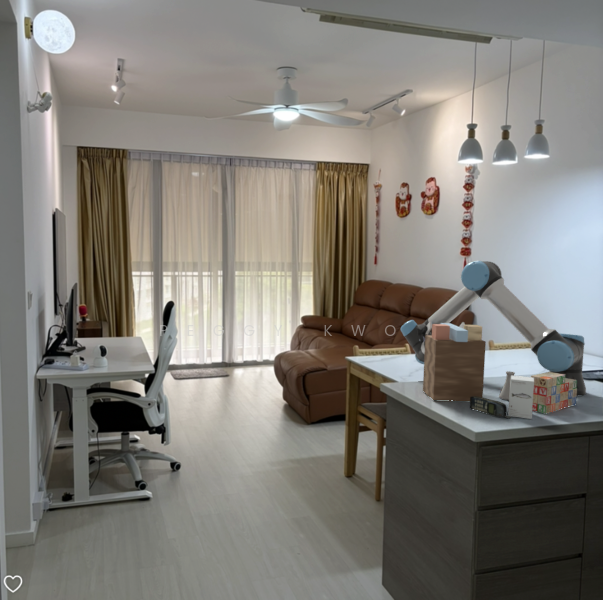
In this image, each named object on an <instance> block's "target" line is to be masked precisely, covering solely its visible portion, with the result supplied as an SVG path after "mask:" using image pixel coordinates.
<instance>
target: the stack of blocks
mask: <svg viewBox="0 0 603 600" xmlns="http://www.w3.org/2000/svg"><path fill="white" fill-rule="evenodd" d="M530 377H532V378H534V391H533V405H532V412H535V411H537V412H536V413H539V412H541V413H540V414H543V413H545V414H544V415H547V414H546V413H548V414H550V413H549V412H552V413H554V412H553V411H555V412H557V411H556V410H558V411H560V410H559V409H561V408H564V407H567V408H569V407H568V406H571V405H574V406H576V405H577V396H576V395H577V380H574V379H568V378H565V375H564V374H558V373H553V372H549V371H546V372H541V373H538V374H534V375H533V374H532V375H530ZM575 404H576V405H575ZM571 407H572V406H571ZM564 409H565V408H564ZM561 410H562V409H561Z"/></svg>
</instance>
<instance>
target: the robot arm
mask: <svg viewBox="0 0 603 600" xmlns="http://www.w3.org/2000/svg"><path fill="white" fill-rule="evenodd" d="M460 276H461V277H460V279H461V283H462V285H463V287H462V288H461V289H460V290H459V291H457V292H456V293H455V294H454V295H453V296H452V297H451V298H449V300H447V302H445V303H444V304H443V305H442V306H440V308H439V309H438V310H436V311H435V312H434V313H433V314H432V315H431V316H430V317H428V318H427V319H426V320H425V321H424V322H423V323H421V324H418V323H417V322H416V321H415V320H414V319H410V320H408V321H406V322H404V323H403V325H401V327H400V332H401V333H402V335H403V337H404V338H405V340H406V341H407V342H408V344H409V346H410V347H411V348H412V350H413V351H414V353H415V354H414V357H415V360H416V362H417V363H419V364H421V365H424V355H425V335H432V324H440V323H451V322H452V321H453V320H454V319H456V318H457V317H458V316H459V315H460V314H462V312H463V311H465V310H466V309H467V308H469V306H470V305H472V304H473V303H475V301H477V300H478V299H479V298H480V299H481V300H487V301H488V302H489V303H490V304H491V305H493V307H494V308H495V309H496V310H497V311H498V312H499V313H500V314H501V315H502V316H503V317H504V318H505V319H506V320H507V321H508V322H509V324H511V325H512V326H513V327H514V328H515V329H516V331H517V332H519V333H520V334H521V335H522V336H523V337H524V339H525V340H527V342H529V344H530V350H531V351H532V353H533V354H534V355H536V357H537V361H538V363H539V364H540V366H541V367H543V369H545V370H547V371H548V372H553V373H558V374H564V375H565V378H568V379H574V380H577V395H576V397H579V396H578V395H582V396H585V395H586V394H587V386H586V384H585V383H586V382H585V380H584V379H585V378H584V377H583V366H584V365H583V364H584V351H585V344H586V343H585V337H584V336H583V335H580V334H571V333H561V332H558V331H557V330H556V329H555V328H554V329H552V328H548V327H547V326H546V325H545V324H544V323H543V322H542V321H541V319H539V318H538V317H537V316H536V315H535V314H534V313H533V312H532V311H531V310H530V309H529V308H528V307H527V306H526V305H525V304H524V303H523V302H522V301H521V300H520V299H519V298H518V297H517V296H516V295H515V294H514V293H513V292H512V291H511V290H510V289H509V288H508V287H507V286H506V285H505V284H504V283H505V279H504V278H503V277H502V271H501V268H500V267H499V266H498V264H496V263H495V262H492V261H482V260H474V261H471V262H468V263H467V264H466V265H465V266H464V267H463V269H462V270H461V274H460ZM464 325H466V324H465V322H464V321H462V322H461V324H459V326H458V327H460V328H463V329H464Z"/></svg>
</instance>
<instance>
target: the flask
mask: <svg viewBox="0 0 603 600" xmlns="http://www.w3.org/2000/svg"><path fill="white" fill-rule="evenodd" d="M505 375H506V377H505V381H504V384H503V386H502V389H501V391H500V393H499V395H498V398H500V399H501V400H506V401H509V394H510V380H511V375H513V376H515V375H516V372H515V371H511V370H509V371H508V370H507V371H505Z"/></svg>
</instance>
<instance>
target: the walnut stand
mask: <svg viewBox="0 0 603 600" xmlns="http://www.w3.org/2000/svg"><path fill="white" fill-rule="evenodd" d="M485 361H486V341H485V340H468V342H456V341H454V340H452V339H450V338H449V340H436V339H434V338H432V335H425V355H424V364H423V378H422V392H423V391H424V392H425V393H426V394H427V395H428V396H429V397H431V398H432V399H433V400H449V401H448V402H452V401H451V400H453V401H470V397H472V396H477V397H483V396H484V382H485V381H484V379H485ZM424 392H423V393H424ZM425 393H424V394H425ZM426 394H425V395H426ZM427 395H426V396H427ZM428 396H427V397H428ZM429 397H428V398H429ZM483 398H484V397H483Z"/></svg>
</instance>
